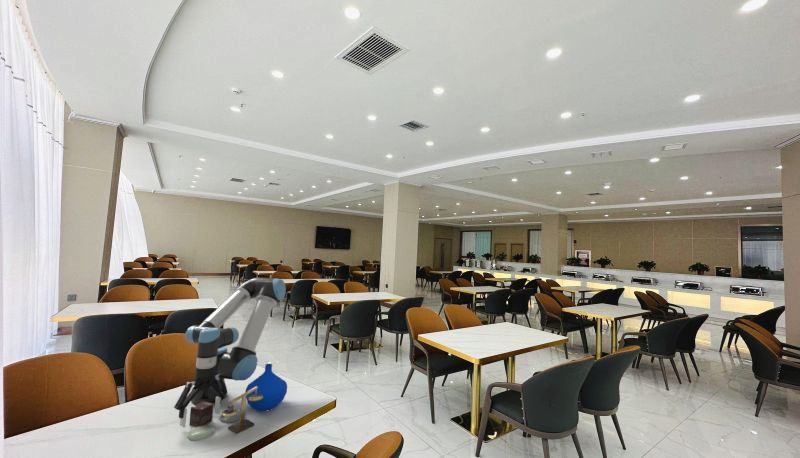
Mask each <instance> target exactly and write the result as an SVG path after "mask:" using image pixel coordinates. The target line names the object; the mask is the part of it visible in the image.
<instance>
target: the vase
mask: <svg viewBox="0 0 800 458" xmlns="http://www.w3.org/2000/svg"><path fill="white" fill-rule="evenodd" d="M272 367H273V364H272V363H266V364H265V367H264V368H265V369H264V371H263V373H262V374H261V375H259V376H258V377H256V378H255V379H254V380H253V381H251V382H250V383H248V384H247V386H246V388H245V391H244V393H245V392H247V391H249V390H250V389H252V388H254V387H256V386H257V387H258V389H257V393H256V390H254V391H253V392H251V393H249V394H248V395H246V402H247V404H248V406H249V407H250V408H252V410H255V411H256V412H268V411H267V410H269V411H272V410H274V409H275V408H277V407H278V406H280V404H281V403H282V402H283V401H284V399H285V397H286V395H287V392H288V384H287V381H286V380H284V379H282V378H281V377H279V376H278V375H277V374H275V373H274V372H273V369H272ZM255 393H256V394H262V395H263V399H261V400H259V401H249V400H248V397H249V396H250V395H253V394H255ZM273 408H274V409H273ZM271 409H272V410H271Z"/></svg>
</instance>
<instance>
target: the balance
mask: <svg viewBox="0 0 800 458" xmlns="http://www.w3.org/2000/svg"><path fill="white" fill-rule="evenodd" d="M257 389H258V387H257V386H256V387H254V388H252V389H250V390H249V391H247V392H245V391H244V393H242V394H240V395H239V396H237V397H235V398H233V399H232V400H230V401H229V404H230V405H228V406H227V407H226V409H224V410H223V411H222V412H221V416H223V417H233V416H235V415H237V414H238V413H239V411H241V414H240V421H238V422H235V423H232V424H231V425H229V426H227V430H228V431H229V432H232V433H233V434H235V435H238V434H240V433H242V432H244V431H247V430H249V429H251V428H253V427H255V425H256V423H255V422H253V421H251V420H250V419H248V418H245V413H246V402H247V399H246V395H248V394H249V393H251V392H253V391H254V390H256V393H257ZM256 393H255V394H253V395H250V396H249V397H248V400H249V401H259V400H261V399H263V395H262V394H256ZM240 400H241V403H240V410H239V409H238V408H235V405H233V404H235V403H236V402H238V401H240Z"/></svg>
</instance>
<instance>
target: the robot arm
mask: <svg viewBox="0 0 800 458" xmlns="http://www.w3.org/2000/svg"><path fill="white" fill-rule="evenodd" d="M286 290H287V289H286V284H285V281H284V280H283V279H281V278H276V277H275V278H273V277H270V278H269V277H258V276H257V277H253V278H251V279H249V280H246V281H244V282H242V283H241V284H240V285H239V286H237V288H235V289H234V291H233V294H232V295H230V296H229V298H227V299H226V300H225V301H224V302H223V303H221V304H220V305H219V306H218V307H217V308H216V309H215V310H214V311H213V312H212V313H210V315H208V317H206V318H205V319H204V320H203V321H202V322H201V323H200V324H199V325H197V324H196V325H192V326H189V327H188V328H187V330H186V331H185V340H186V342H188V343H193V344H197V345H198V346H197V355H196V361H195V362H196V363H195V370H194V380H193V381H191V382H190V381H186V382H185V384H184V385H185V386H184V388H183V390H182V392H181V394H180V395H179V398H178V399H177V401H176V403H175V404H174V407H173V408H174V409H175V410H177V411H178V419H179V425H180V426H181V427H182V428H184V427H186V423H187V414H188V409H187V407H188V406H189V404H190V403H192V404H194V405H196V404H199V403H201V402H203V401H204V402H208V403H212V404H214V409H213V414H214V413H215V414H217V415H219V414H220V410H221V405H222V403H223V401H224V400H225V399H227V397H228V393H229V392H228V388H227V384H226V381H225V380H233V381H235V382H236V381H246V380H248V379H250V378H251V376H253V374H254V373H255V371H256V369H257V367H258V361H259V360H258V358H257V351H256V348H257V345H258V343H259V341H260V338H261V336H262V333H263V331H264V329H265V326H266V323H267V322H268V319H269V317H270V314H271V312H272V310H273V307H275V306H277V304H278V303H279V302H278V301H283V299H284V298H285V296H286V292H287V291H286ZM252 299H255V300H256V302H255V306H254V308H253V310H252V312H251V314H250V316H249V319H248V321H247V323H246V325H245V327H244V329H243V332H242V333H241V336H240V334H239V333H240V332H239V330H238V328H236V327H233V326H231V327H227V328H224V327H222V326H223V325H224V324H225V323H226V322H227V321H228V320H229V319H230V318H231V317H232V316H233V315H234V314H235V313H236V312H237V311H238V310H239V309H240V308H242V306H243V305H244V304H245V303H248V302H249V301H251V300H252ZM221 327H222V328H221ZM239 336H240V339H239ZM238 340H239V341H238ZM237 341H238V343H237V344H236V345H235V346H232V349H231V351H230V352H228V348H227V346H230V345H232V344H235V343H236V342H237ZM223 399H224V400H223Z"/></svg>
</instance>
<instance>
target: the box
mask: <svg viewBox="0 0 800 458" xmlns="http://www.w3.org/2000/svg"><path fill="white" fill-rule="evenodd" d="M214 406H215V403H214V404H212V403H208V402H204V401H203V402H201V403H199V404H194V405H192V406H191V407H190V413H189V424H188V425H189V426H192V427H194V428H195V427H198V426H203V425H208V424H210V423H211V422H213V415H214Z"/></svg>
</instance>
